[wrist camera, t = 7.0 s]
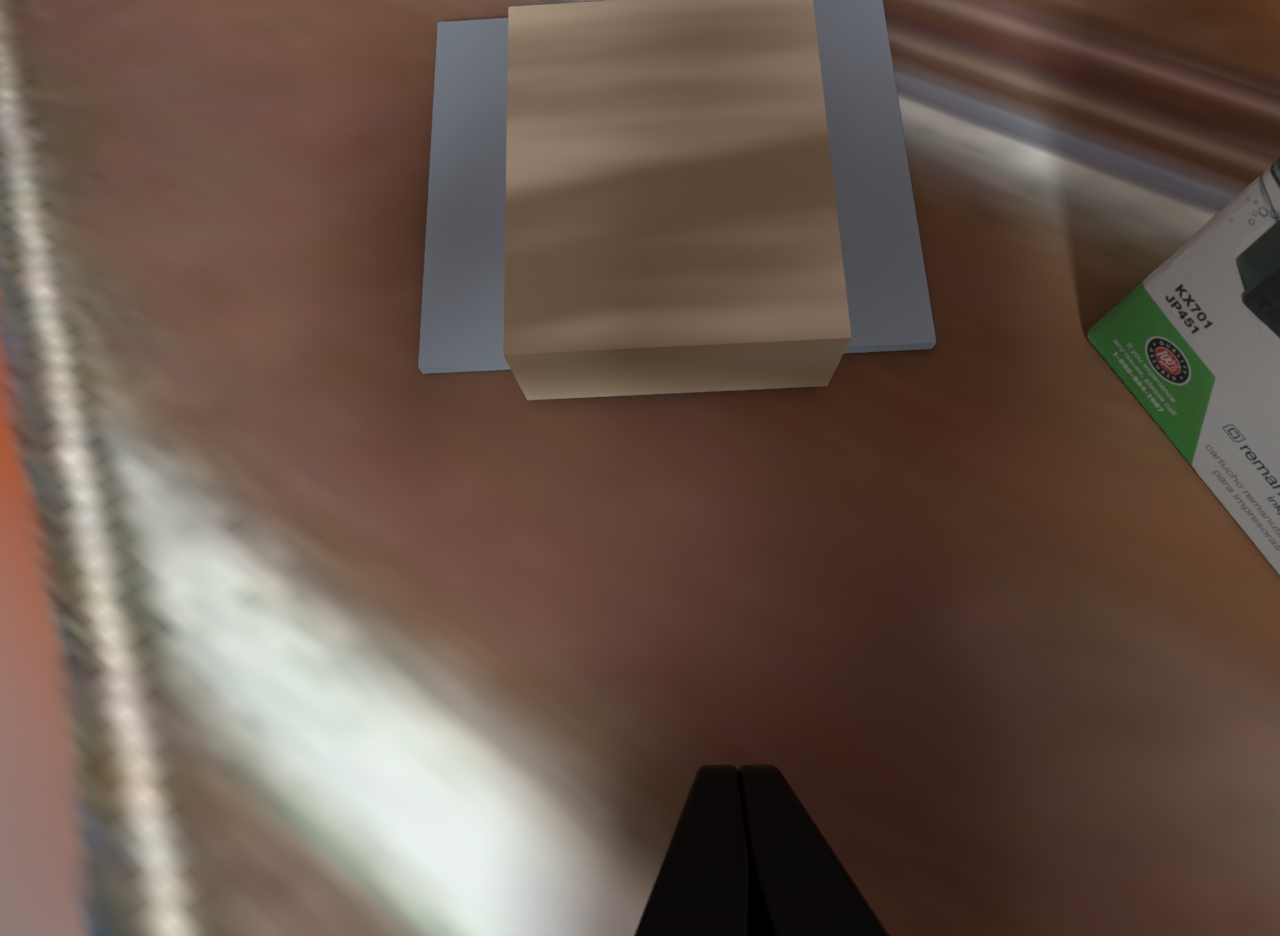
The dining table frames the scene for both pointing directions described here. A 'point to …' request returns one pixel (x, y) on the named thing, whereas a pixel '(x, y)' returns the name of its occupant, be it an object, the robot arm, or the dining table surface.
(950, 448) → the dining table surface
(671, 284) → the maple slab
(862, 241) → the rubber mat
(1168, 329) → the ink box
